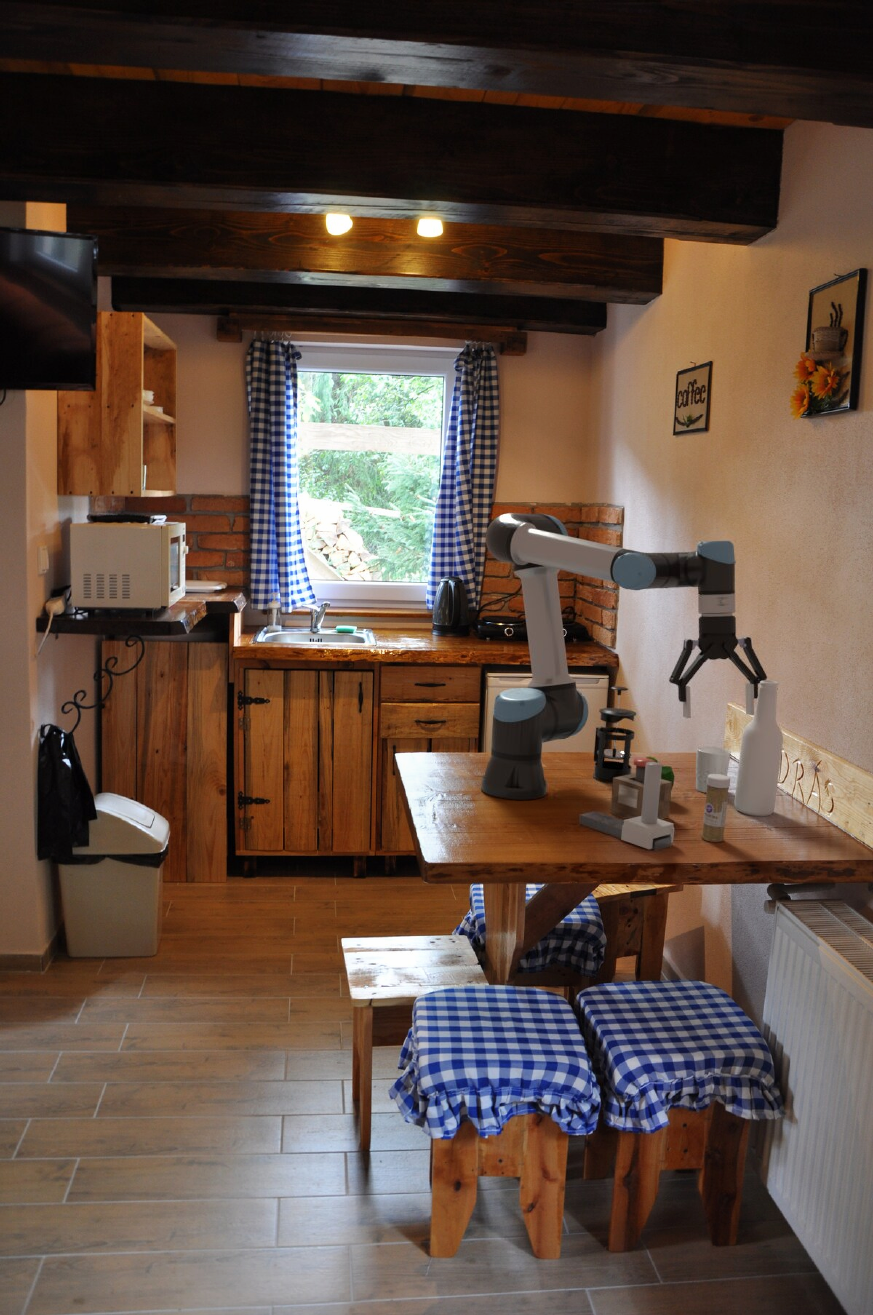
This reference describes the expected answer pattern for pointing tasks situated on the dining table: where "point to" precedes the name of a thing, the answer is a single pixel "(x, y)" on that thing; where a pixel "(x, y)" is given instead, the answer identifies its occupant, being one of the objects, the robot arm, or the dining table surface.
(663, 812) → the button box
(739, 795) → the alcohol
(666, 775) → the bell pepper
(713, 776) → the sprinkles bottle
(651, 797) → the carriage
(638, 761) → the red button
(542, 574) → the robot arm
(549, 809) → the dining table surface
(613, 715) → the french press
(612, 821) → the rail
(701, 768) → the white cup
